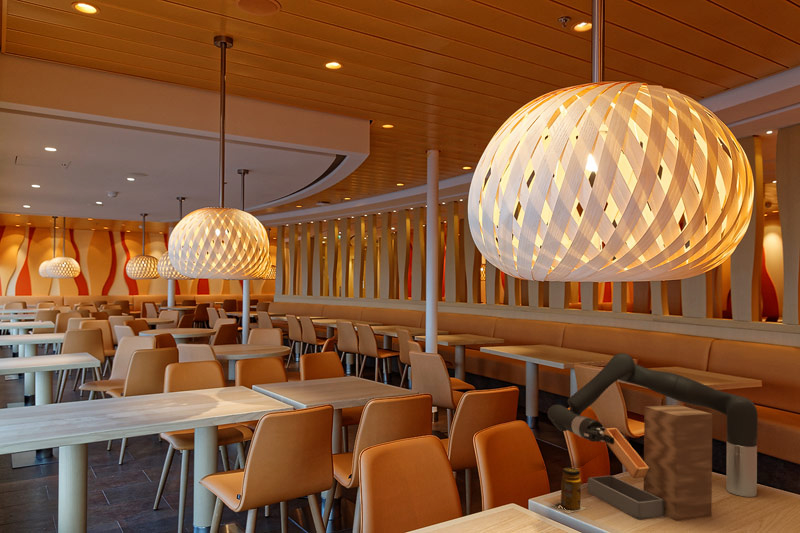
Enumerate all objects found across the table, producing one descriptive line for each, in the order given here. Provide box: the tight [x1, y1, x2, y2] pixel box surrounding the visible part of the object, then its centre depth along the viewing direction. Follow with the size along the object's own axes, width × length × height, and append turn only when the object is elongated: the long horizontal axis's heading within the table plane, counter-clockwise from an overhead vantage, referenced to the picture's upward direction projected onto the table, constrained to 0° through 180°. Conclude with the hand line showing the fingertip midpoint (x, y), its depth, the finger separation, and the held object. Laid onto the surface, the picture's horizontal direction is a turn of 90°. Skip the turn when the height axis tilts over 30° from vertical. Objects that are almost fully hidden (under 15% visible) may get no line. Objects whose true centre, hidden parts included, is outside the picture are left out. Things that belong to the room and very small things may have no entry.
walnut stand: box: [643, 404, 713, 522], centre depth 186 cm, size 14×14×32 cm
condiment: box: [551, 467, 587, 514], centre depth 185 cm, size 7×8×12 cm
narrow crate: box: [604, 427, 649, 479], centre depth 191 cm, size 18×4×4 cm, turn 18°
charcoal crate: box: [587, 474, 665, 521], centre depth 190 cm, size 24×10×5 cm, turn 19°
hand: (619, 440), depth 193 cm, fingers closed on narrow crate, 4 cm apart
